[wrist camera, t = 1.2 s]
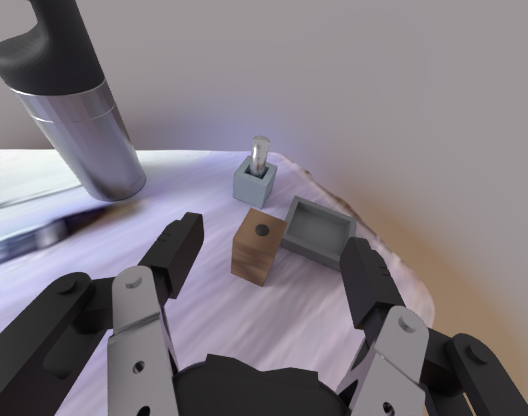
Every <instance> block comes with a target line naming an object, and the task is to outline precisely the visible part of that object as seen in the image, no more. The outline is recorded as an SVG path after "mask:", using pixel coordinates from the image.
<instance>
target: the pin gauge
mask: <svg viewBox="0 0 528 416" xmlns="http://www.w3.org/2000/svg"><path fill="white" fill-rule="evenodd" d="M269 143H270V141H269V139H268V138H266V137H263V136H256V137H254V138H253V146H252V154H251V162H250V170H249V175H252V176H254V177H257V178H259V179H263V174H264V169H265V164H266V158H267V153H268V148H269Z"/></svg>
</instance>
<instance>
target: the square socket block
mask: <svg viewBox="0 0 528 416" xmlns="http://www.w3.org/2000/svg"><path fill="white" fill-rule="evenodd" d="M250 162H251V156H248V157H247V158H246V159H245V161H244V162H243V163H242V164H241V166H240V167H239V168H238V170H237V171H236V172H235V173H234V186H233V197H234V198H236V199H239V200H241V201H244V202H246V203H249V204H251V205H254V206H256V207H259V208H261V209H262V207H263V205H264V203H265V201H266V199H267V197H268V195H269V194H270V192H271V190H272V187H273V183H274V179H275V175H276V171H277V167H278V166H275V165H272V164H270V163H267V162H266V164H265V169H264V174H263V179H259V178H257V177H254V176H252V175H249V170H250Z"/></svg>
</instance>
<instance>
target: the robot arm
mask: <svg viewBox="0 0 528 416" xmlns="http://www.w3.org/2000/svg"><path fill="white" fill-rule="evenodd" d="M29 1H30V2H31V4H32V7H33V9H34V12H35V15H36V17H37V21H38V23H37V25H36V26H35V27H34V28H33V29H32V30H30V31H29V32H27V33H25V34H22V35H19V36H16V37H13V38H10V39H7V40H5V41H2V42H0V76H1V78H2V79H3V80H4V82H5V83H6V84H7V86H8V87H9V88H10V89H11V91H12V92H13V94H14V95H15V96H16V97H17V99H18V100H19V101H20V103H21V104H22V105H23V107H24V108H25V109H26V111H27V112H28V113H29V114H30V116H31V117H32V118H33V120H34V121H35V122H36V124H37V125H38V126H39V128H40V129H41V130H42V132H43V133H44V134H45V136H46V137H47V138H48V140H49V141H50V142H51V143H52V145H53V146H54V148H55V149H56V150H57V152H58V153H59V154H60V156H61V157H62V158H63V160H64V161H65V162H66V164H67V165H68V166H69V167H70V169H71V170H72V171H73V173H74V174H75V175H76V177H77V178H78V180H79V181H80V182H81V184H82V185H83V186H84V188H85V189H86V190H87V192H88V193H89V194H90V195H91V196H92V197H94V198H96V199H99V200H103V201H115V200H120V199H124V198H127V197H129V196H131V195H133V194H135V193H136V192H138V191H139V190H140V189H141V188H142V187H143V185H144V183H145V175H144V172H143V170H142V167H141V165H140V162H139V160H138V157H137V154H136V152H135V150H134V147H133V145H132V142H131V140H130V137H129V135H128V132H127V130H126V127H125V125H124V122H123V120H122V117H121V115H120V112H119V110H118V107H117V105H116V102H115V100H114V98H113V96H112V93H111V90H110V88H109V86H108V83H107V81H106V78H105V76H104V73H103V71H102V69H101V66H100V64H99V61H98V59H97V56H96V54H95V51H94V48H93V45H92V43H91V41H90V38H89V35H88V33H87V30H86V28H85V26H84V23H83V20H82V18H81V15H80V12H79V9H78V7H77V4H76V1H75V0H29ZM203 241H204V227H203V217H202V214H198V213H191V212H187V213H186V214H185V215H184V216H183V218H182V219H181V221H180V220H175V221H173V222H172V223H170V224H169V225H167V227H166V228H165V229H164V230H163V232H162V234H160V236H159V237H158V238H157V241H155V242H154V244H153V245H152V246H151V248H150V249H149V250H148V252H147V253H146V254H145V256H144V257H143V258H142V260H141V261H140V262H139V264H138V265H137V266H133V267H130V268H128V269H126V270H124V271H122V272H121V273H120V274H119V275H118V276H117V277H110V278H103V279H95V280H91V278H90V277H89V275H88V274H86V273H83V272H74V273H70V274H67V275H64V276H62V277H60V278H58V279H56V280H55V281H53V282H52V283H51V284H50V285H49V286H47V287H46V288H45V289H44V290H43V291H42V292H41V293H40V294H39V295H38V296H37V297H36V298H35V299H34V300H33V301H32V302H31V303H30V304H29V305H28V306H27V307H26V308H25V309H24V310H23V311H22V312H21V313H20V314H19V315H18V316H17V317H16V318H15V319H14V320H13V321H12V322H11V323H10V324H9V325H8V326H7V327H6V328H5V329H4V330H3V331H2V332H1V333H0V416H54V415H55V413H56V412H57V410H58V409H59V407H60V405H61V404H62V402H63V401H64V399H65V397H66V396H67V394H68V392H69V391H70V389H71V388H72V386H73V384H74V383H75V381H76V380H77V378H78V376H79V375H80V373H81V372H82V370H83V368H84V367H85V365H86V364H87V362H88V360H89V359H90V357H91V356H92V354H93V352H94V351H95V349H96V347H97V346H98V344H99V343H100V341H101V339H102V338H103V336H104V335H105V333H106V331H107V330H108V329H113V335H112V336H110V337H109V339H108V345H107V365H108V416H422V413H423V407H424V403H425V406H426V409H427V412H428V414H429V416H473V414H472V412H471V410H470V408H469V405H468V403H467V401H466V399H465V397H464V395H463V393H466V395H467V397H468V399H469V401H470V403H471V405H472V407H473V409H474V411H475V413H476V415H477V416H528V404H527V403H526V401H525V400H524V398H523V397H522V395H521V394H520V392H519V391H518V389H517V388H516V386H515V385H514V383H513V382H512V380H511V378H510V377H509V375H508V374H507V372H506V371H505V369H504V368H503V366H502V365H501V363H500V361H499V360H498V358H497V357H496V356H495V354H494V353H493V352H492V351H491V350H490V349H489V348H488V347H487V346H486V345H485V344H483V343H482V342H481V341H479V340H478V339H476V338H474V337H472V336H470V335H468V334H463V333H459V334H457V335H455V336H453V337H452V338H451V337H448V336H446V335H444V334H441V333H439V332H437V331H435V330H433V329H431V328H428V327H427V326H426V324H425V323H424V321H423V320H422V319H421V318H420V317H419V316H418V315H417V314H416V313H415V312H413V311H412V310H410V309H408V308H406V306H405V304H404V302H403V299H402V297H401V295H400V293H399V291H398V289H397V287H396V285H395V283H394V280H393V278H392V277H391V274H390V272H389V270H388V269H387V266H386V264H385V261H384V259H383V258H382V257H381V256H380V255H379V254H378V252H377V251H376V250H371V247H370V245H369V243H368V241H367V239H363V238H356V237H350V238H349V240H348V242H347V244H346V246H345V248H344V250H343V252H342V254H341V256H340V261H339V265H340V270H341V274H342V279H343V283H344V287H345V291H346V295H347V299H348V303H349V308H350V312H351V316H352V320H353V324H354V328H355V329H360V330H364V333H365V337H364V339H363V340H362V342H361V344H360V347H359V349H358V351H357V353H356V355H355V357H354V359H353V361H352V363H351V365H350V367H349V369H348V371H347V373H346V375H345V377H344V378H343V380H342V381H341V382H340V384H339V386H338V387H337V389H336V391H335V392H334V391H333V390H331V389H330V388H329V387H328V386H326V385H325V384H323V383H322V382H320V381H318V372H316V371H310V370H303V369H297V368H291V367H289V368H283V369H277V370H271V371H265V372H262V371H258V370H256V369H255V368H253V367H251V366H249V365H247V364H245V363H243V362H241V361H239V360H237V359H235V358H231V357H225V356H219V355H213V354H207V357H206V361H203V362H199V363H196V364H193V365H191V366H188V367H186V368H185V369H183V370H181V371H179V366H178V362H177V358H176V354H175V351H174V347H173V343H172V339H171V334H170V330H169V325H168V321H167V316H166V312H165V307H164V305H165V303H166V302H167V300H168V298H171V299H176V298H177V296H178V294H179V292H180V290H181V288H182V286H183V284H184V282H185V280H186V278H187V276H188V274H189V272H190V269H191V267H192V265H193V263H194V261H195V259H196V257H197V255H198V253H199V251H200V249H201V247H202V244H203Z"/></svg>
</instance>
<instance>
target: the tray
mask: <svg viewBox="0 0 528 416" xmlns="http://www.w3.org/2000/svg"><path fill="white" fill-rule="evenodd" d="M285 222H288V224H287V227H286V229H285V232H284V234H283V237H282V240H281V242H280V245H279V246H281V247H283V248H286V249H288V250H290V251H293V252H295V253H298V254H300V255H302V256H305V257H307V258H309V259H312V260H314V261H317V262H319V263H321V264H324V265H326V266H328V267H331V268H333V269H335V270H338V271H340V272H341V270H340V265H339V261H340V256H341V254H342V252H343V250H344V248H345V246H346V244H347V242H348V240H349V238H350V237H355V231H356V222H357V219H354V218H352V217H349V216H346V215H344V214H341V213H339V212H336V211H333V210H331V209H328V208H326V207H323V206H320V205H318V204H315V203H313V202H310V201H307V200H305V199H302V198H300V197H297V196H295V197H294V200H293V202H292V205H291V207H290V210H289V212H288V214H287V217H286V219H285Z"/></svg>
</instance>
